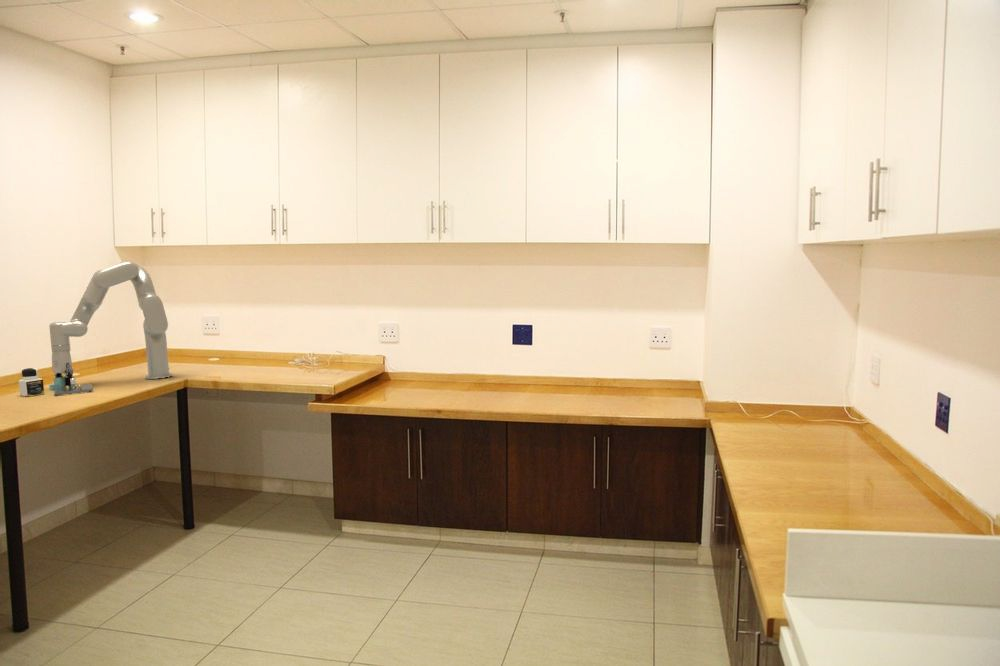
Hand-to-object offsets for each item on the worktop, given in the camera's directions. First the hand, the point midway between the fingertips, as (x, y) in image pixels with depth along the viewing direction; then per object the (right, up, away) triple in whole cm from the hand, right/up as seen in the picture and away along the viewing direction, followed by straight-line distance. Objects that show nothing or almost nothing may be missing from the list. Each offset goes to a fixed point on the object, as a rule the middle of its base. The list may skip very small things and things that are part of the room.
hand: (64, 384), depth 342 cm
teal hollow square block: (-1, -2, -1) cm, 2 cm away
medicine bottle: (-5, -4, -15) cm, 17 cm away
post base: (+10, -2, -10) cm, 14 cm away
